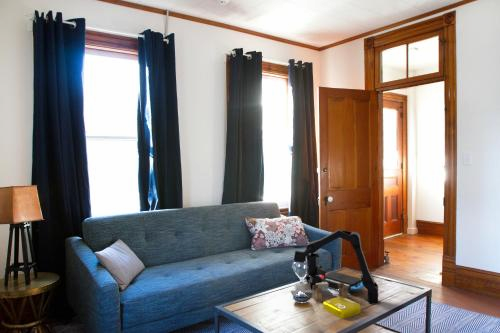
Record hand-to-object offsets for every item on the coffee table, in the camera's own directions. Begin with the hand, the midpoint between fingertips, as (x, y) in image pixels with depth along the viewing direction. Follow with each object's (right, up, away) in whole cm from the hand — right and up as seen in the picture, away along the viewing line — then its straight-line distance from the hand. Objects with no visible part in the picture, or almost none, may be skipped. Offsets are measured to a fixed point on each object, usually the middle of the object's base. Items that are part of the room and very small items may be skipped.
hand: (311, 289), depth 221 cm
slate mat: (0, -2, 0) cm, 2 cm away
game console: (+25, +1, +15) cm, 29 cm away
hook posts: (+10, -3, -7) cm, 12 cm away
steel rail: (0, 0, 0) cm, 1 cm away
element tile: (+12, -4, -22) cm, 26 cm away
